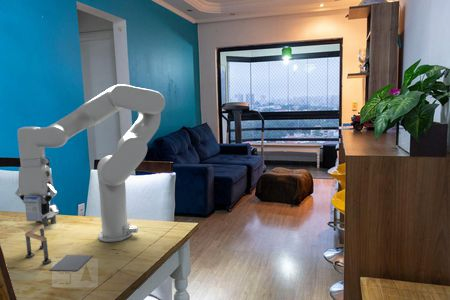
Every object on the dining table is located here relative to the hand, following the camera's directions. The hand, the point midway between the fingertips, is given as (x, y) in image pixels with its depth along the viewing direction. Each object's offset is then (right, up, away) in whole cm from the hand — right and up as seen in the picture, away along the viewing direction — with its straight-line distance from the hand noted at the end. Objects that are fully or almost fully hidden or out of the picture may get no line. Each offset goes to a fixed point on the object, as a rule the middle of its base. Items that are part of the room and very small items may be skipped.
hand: (38, 212), depth 117 cm
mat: (+16, -15, -9) cm, 23 cm away
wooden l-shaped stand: (+4, -14, -3) cm, 15 cm away
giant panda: (-11, -10, +27) cm, 31 cm away
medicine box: (0, -2, 0) cm, 2 cm away
